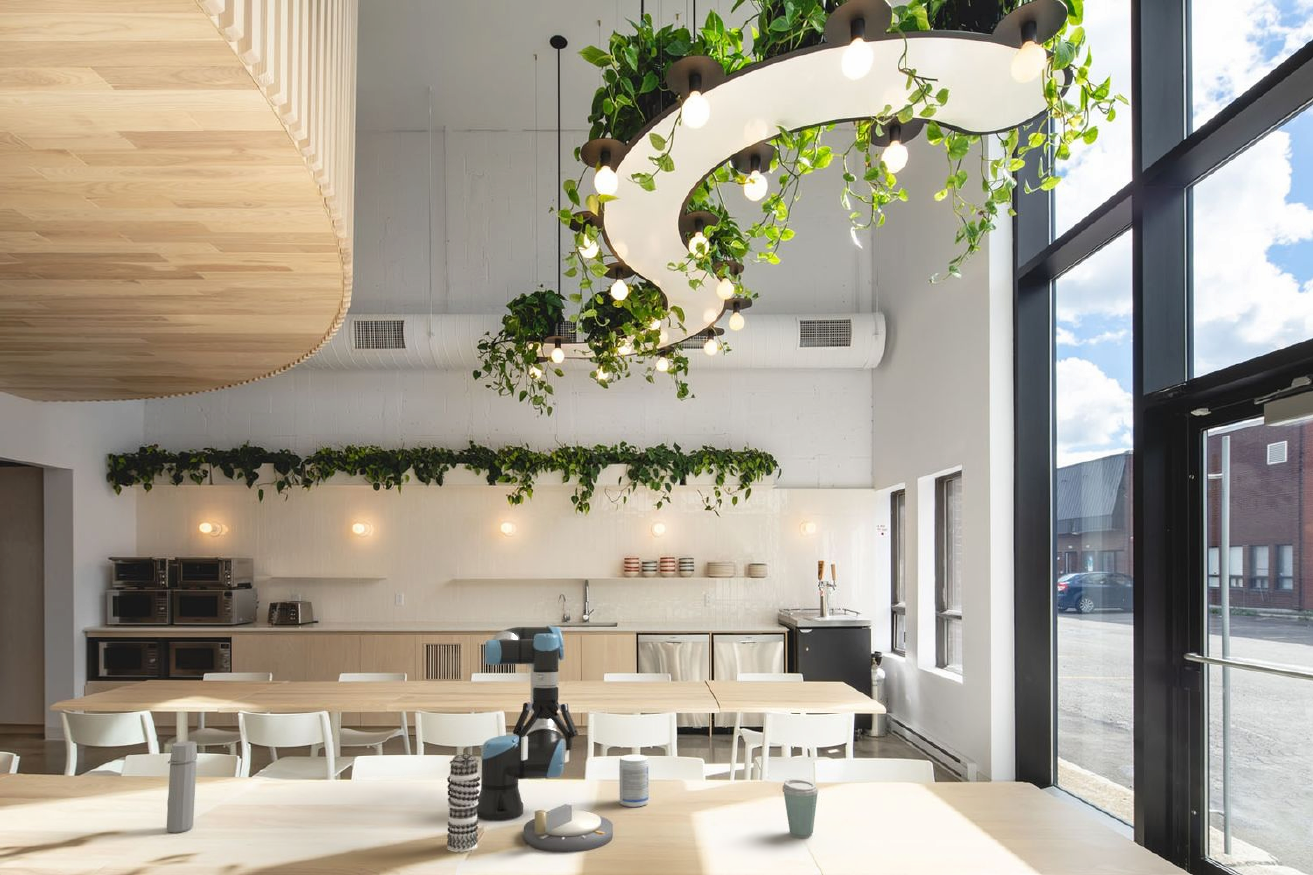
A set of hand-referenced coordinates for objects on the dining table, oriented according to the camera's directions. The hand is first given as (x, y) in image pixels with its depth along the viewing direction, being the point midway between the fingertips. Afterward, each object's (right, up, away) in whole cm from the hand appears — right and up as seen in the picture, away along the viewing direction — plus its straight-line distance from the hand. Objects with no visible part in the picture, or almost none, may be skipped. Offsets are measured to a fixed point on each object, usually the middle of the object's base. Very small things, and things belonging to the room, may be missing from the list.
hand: (544, 760), depth 269 cm
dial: (+6, -18, -4) cm, 19 cm away
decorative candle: (-22, -21, -11) cm, 32 cm away
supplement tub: (+25, -25, +31) cm, 48 cm away
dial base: (+7, -22, -2) cm, 23 cm away
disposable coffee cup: (+76, -22, 0) cm, 79 cm away
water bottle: (-111, -22, +4) cm, 113 cm away
